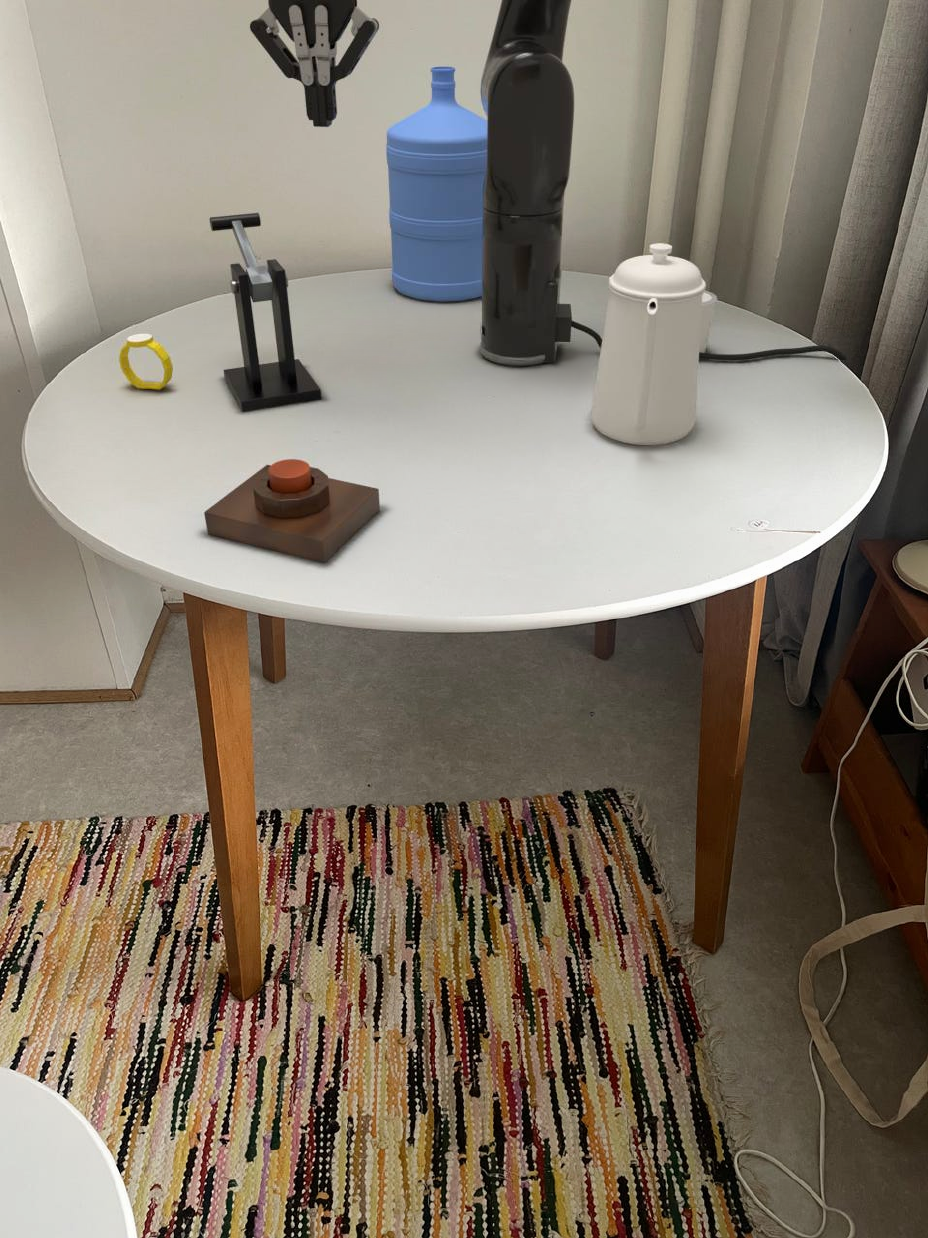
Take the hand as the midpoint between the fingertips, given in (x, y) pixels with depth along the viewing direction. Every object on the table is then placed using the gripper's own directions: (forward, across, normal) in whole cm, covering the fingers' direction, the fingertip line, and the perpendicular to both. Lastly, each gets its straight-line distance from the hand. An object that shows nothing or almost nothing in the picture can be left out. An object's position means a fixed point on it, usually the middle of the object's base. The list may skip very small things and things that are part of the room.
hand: (322, 125), depth 102 cm
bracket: (+27, +7, +5) cm, 28 cm away
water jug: (+27, -7, -35) cm, 45 cm away
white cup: (+27, -40, -13) cm, 50 cm away
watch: (+27, +21, +6) cm, 35 cm away
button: (+23, -4, +34) cm, 41 cm away
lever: (+14, +10, 0) cm, 17 cm away
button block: (+27, -4, +34) cm, 44 cm away
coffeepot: (+27, -35, +10) cm, 45 cm away
